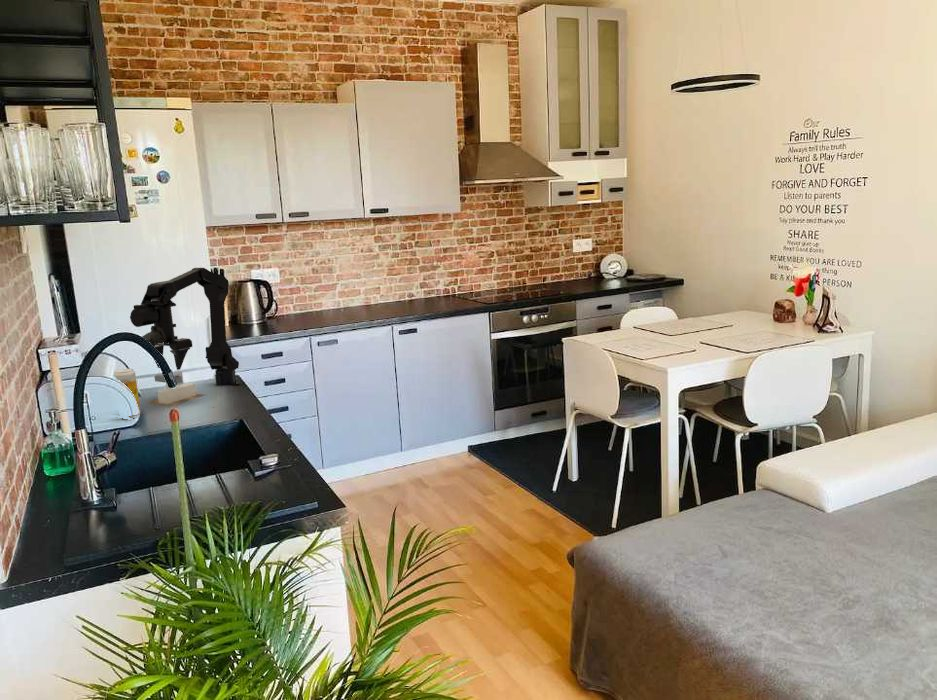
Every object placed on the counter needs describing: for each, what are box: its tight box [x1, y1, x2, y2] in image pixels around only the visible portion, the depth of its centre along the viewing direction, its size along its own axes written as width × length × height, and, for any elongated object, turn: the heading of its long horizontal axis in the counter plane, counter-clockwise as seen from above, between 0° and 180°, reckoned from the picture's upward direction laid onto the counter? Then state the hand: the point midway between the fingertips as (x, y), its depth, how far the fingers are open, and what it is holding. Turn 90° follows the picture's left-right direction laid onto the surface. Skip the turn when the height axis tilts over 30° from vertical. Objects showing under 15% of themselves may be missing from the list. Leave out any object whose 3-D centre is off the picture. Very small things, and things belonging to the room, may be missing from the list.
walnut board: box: [145, 393, 206, 407], centre depth 248 cm, size 15×12×1 cm
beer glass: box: [113, 368, 142, 414], centre depth 229 cm, size 6×6×15 cm
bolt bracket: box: [165, 371, 185, 389], centre depth 253 cm, size 6×2×7 cm, turn 151°
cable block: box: [156, 382, 197, 404], centre depth 247 cm, size 12×4×4 cm, turn 151°
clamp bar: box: [153, 373, 182, 385], centre depth 254 cm, size 2×11×2 cm, turn 61°
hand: (169, 368), depth 244 cm, fingers open, 9 cm apart
